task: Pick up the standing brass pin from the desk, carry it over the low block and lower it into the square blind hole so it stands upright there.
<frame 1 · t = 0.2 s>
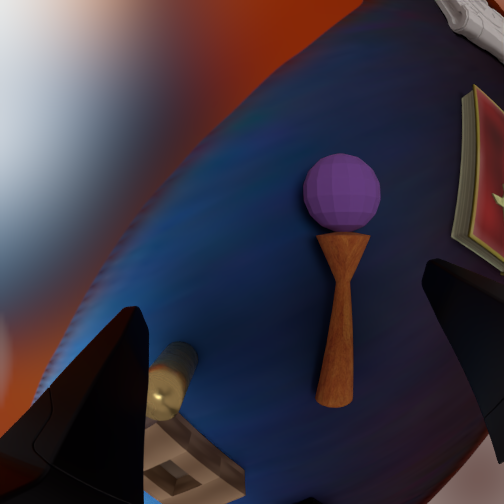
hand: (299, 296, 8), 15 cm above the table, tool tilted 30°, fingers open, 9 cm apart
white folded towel: (481, 34, 27), on the table
hardcover book: (485, 180, 25), on the table
bore block: (178, 455, 22), on the table
brass pin: (180, 357, 22), on the table
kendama: (332, 283, 23), on the table
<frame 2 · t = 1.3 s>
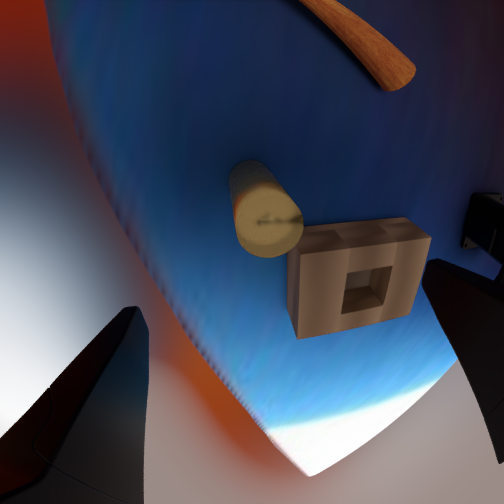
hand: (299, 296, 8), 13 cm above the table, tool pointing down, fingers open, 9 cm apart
bore block: (347, 263, 24), on the table
brass pin: (250, 180, 19), on the table
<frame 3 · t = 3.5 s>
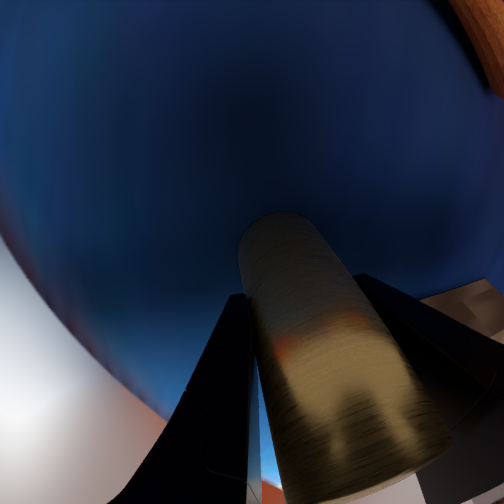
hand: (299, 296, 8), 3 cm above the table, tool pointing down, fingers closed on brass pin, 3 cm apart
bore block: (407, 347, 14), on the table
brass pin: (280, 252, 10), on the table, touching gripper
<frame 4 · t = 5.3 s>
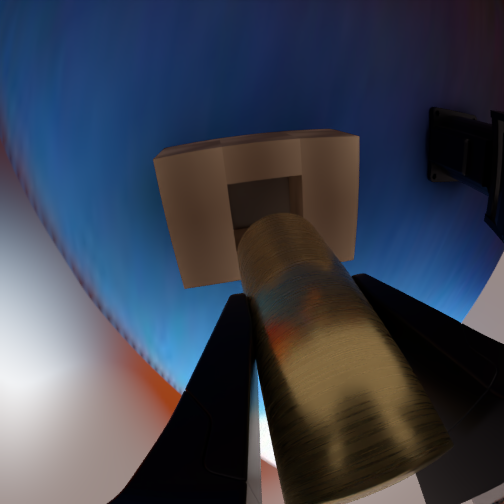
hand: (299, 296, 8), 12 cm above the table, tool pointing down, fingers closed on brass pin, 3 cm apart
bore block: (256, 192, 19), on the table
brass pin: (279, 252, 10), point 10 cm above the table, touching gripper
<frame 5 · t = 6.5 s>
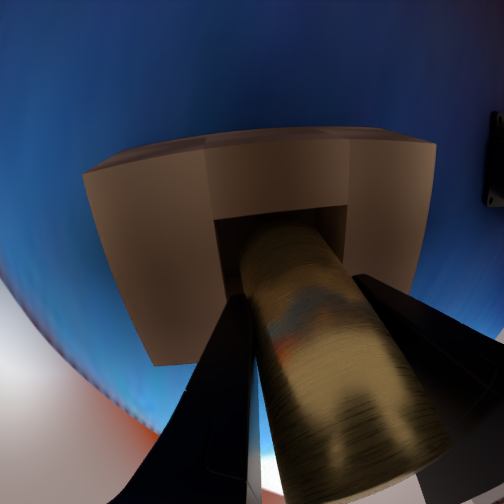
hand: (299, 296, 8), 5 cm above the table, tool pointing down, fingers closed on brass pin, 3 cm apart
bore block: (263, 220, 12), on the table
brass pin: (280, 253, 10), point 3 cm above the table, touching gripper
when the fingers open (5 cm above the table, at t = 7.2 s): brass pin drops 1 cm, resting on bore block.
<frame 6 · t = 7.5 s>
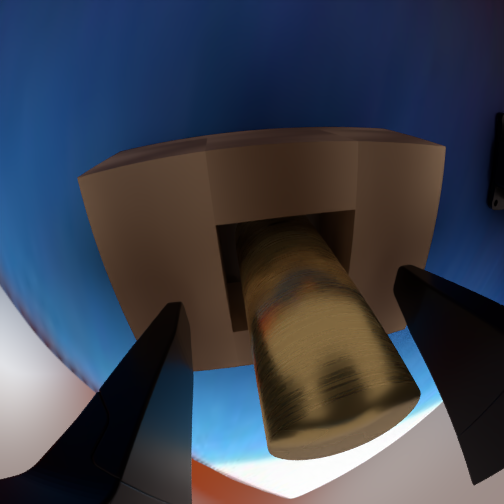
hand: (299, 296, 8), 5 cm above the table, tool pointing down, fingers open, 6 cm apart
bore block: (266, 223, 12), on the table
brass pin: (273, 235, 11), point 1 cm above the table, touching bore block
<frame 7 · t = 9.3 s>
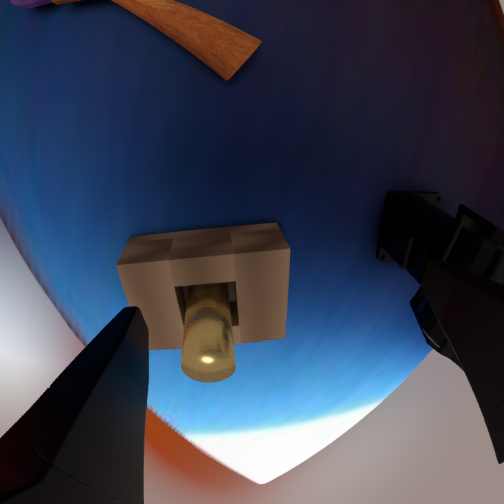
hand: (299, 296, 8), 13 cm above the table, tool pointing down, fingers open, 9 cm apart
bore block: (207, 274, 22), on the table
brass pin: (208, 283, 21), point 1 cm above the table, touching bore block
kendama: (124, 3, 11), on the table
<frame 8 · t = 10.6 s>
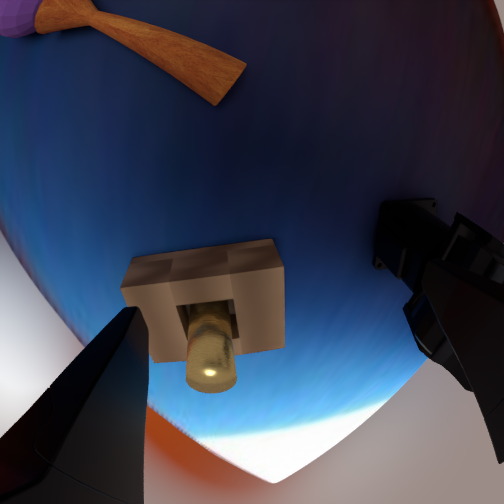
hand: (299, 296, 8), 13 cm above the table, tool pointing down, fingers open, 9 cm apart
bore block: (208, 290, 23), on the table
brass pin: (209, 298, 22), point 1 cm above the table, touching bore block
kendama: (110, 28, 12), on the table
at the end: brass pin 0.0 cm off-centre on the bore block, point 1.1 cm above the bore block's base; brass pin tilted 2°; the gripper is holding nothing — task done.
